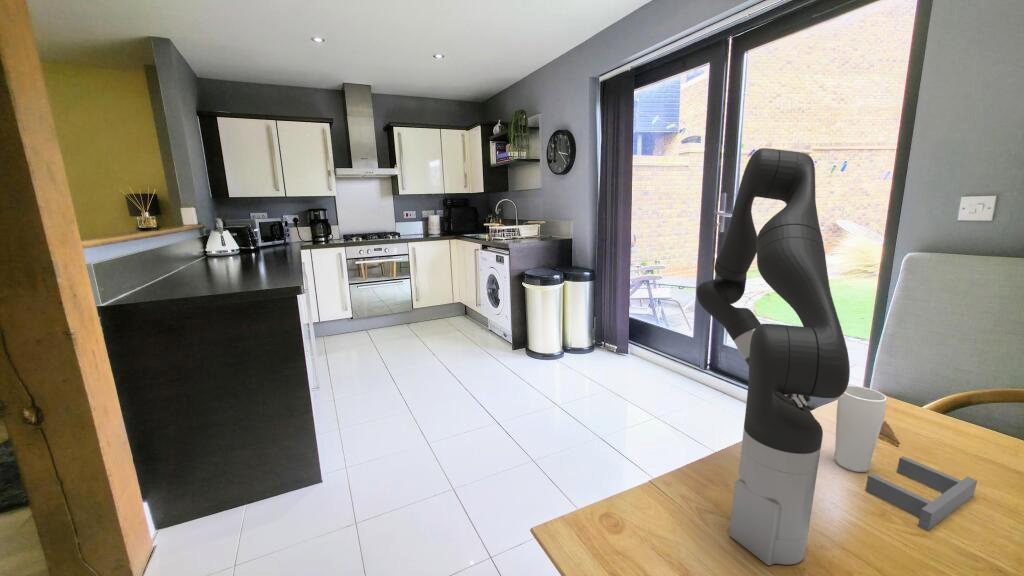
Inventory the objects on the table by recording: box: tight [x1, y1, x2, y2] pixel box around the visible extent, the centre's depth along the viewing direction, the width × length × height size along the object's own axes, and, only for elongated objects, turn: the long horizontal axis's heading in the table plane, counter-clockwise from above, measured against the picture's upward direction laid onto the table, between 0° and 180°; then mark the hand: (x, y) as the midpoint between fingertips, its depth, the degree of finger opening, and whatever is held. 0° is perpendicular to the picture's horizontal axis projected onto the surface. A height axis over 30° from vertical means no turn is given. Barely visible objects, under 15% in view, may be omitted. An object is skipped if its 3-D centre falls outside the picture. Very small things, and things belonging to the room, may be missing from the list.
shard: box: [878, 420, 901, 447], centre depth 90 cm, size 11×8×2 cm
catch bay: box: [864, 455, 978, 531], centre depth 70 cm, size 17×9×3 cm, turn 116°
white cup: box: [833, 384, 888, 473], centre depth 77 cm, size 7×7×15 cm
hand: (811, 425), depth 84 cm, fingers closed
